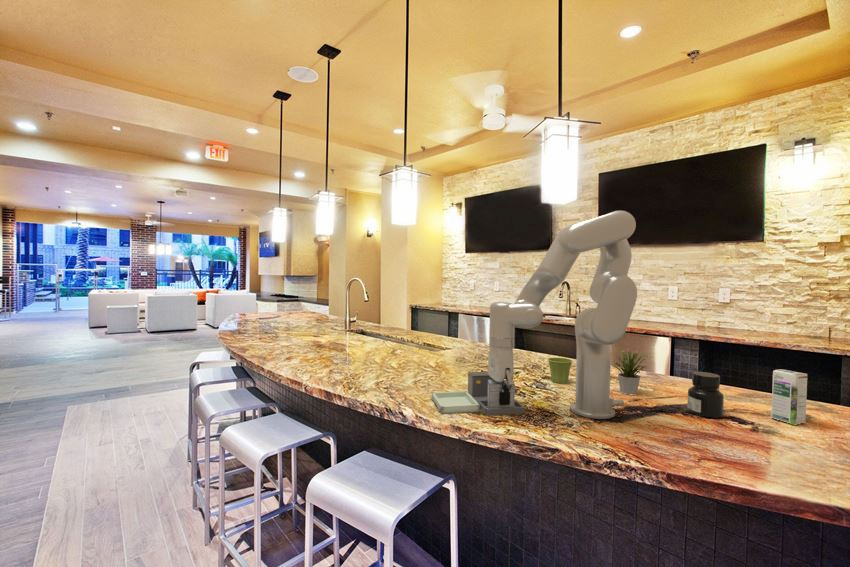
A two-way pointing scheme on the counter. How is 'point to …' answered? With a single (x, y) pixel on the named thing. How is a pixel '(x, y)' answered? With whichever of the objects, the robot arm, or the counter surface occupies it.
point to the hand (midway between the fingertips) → (500, 400)
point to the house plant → (629, 372)
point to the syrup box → (789, 396)
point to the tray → (455, 402)
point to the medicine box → (494, 395)
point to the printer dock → (480, 394)
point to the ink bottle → (705, 395)
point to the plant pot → (559, 369)
